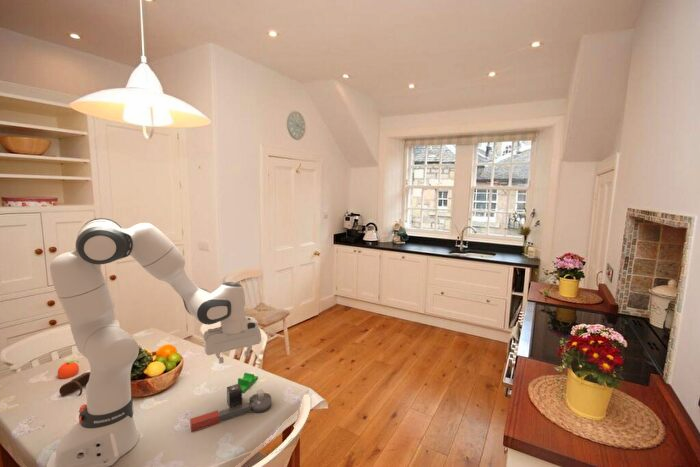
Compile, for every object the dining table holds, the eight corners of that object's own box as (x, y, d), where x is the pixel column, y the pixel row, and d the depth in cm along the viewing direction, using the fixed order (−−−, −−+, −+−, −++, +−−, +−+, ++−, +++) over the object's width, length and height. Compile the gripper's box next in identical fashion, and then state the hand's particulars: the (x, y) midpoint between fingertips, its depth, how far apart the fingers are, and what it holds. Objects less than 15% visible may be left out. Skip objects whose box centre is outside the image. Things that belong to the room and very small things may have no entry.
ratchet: (192, 436, 107) (191, 419, 107) (189, 421, 114) (188, 405, 113) (274, 408, 122) (273, 393, 121) (267, 397, 129) (267, 383, 128)
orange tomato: (73, 371, 144) (72, 356, 144) (86, 373, 143) (85, 358, 142) (53, 381, 137) (52, 365, 136) (67, 383, 135) (65, 367, 135)
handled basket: (59, 399, 125) (57, 383, 124) (88, 383, 136) (87, 367, 135) (97, 407, 121) (95, 389, 120) (124, 389, 132) (123, 373, 132)
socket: (229, 408, 122) (229, 392, 121) (227, 401, 126) (226, 386, 125) (242, 404, 124) (241, 388, 124) (239, 397, 128) (239, 383, 127)
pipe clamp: (243, 384, 131) (233, 382, 132) (243, 393, 131) (233, 391, 132) (257, 370, 141) (248, 369, 143) (257, 378, 142) (248, 377, 143)
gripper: (204, 333, 114) (206, 370, 115) (262, 322, 124) (262, 356, 126) (202, 327, 119) (203, 362, 120) (257, 317, 130) (258, 349, 131)
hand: (234, 359), depth 123 cm, fingers open, 8 cm apart
